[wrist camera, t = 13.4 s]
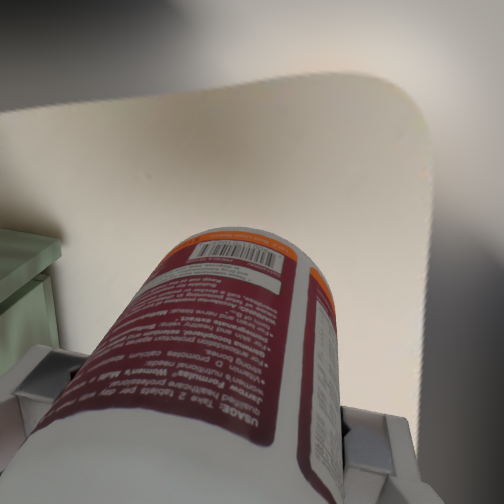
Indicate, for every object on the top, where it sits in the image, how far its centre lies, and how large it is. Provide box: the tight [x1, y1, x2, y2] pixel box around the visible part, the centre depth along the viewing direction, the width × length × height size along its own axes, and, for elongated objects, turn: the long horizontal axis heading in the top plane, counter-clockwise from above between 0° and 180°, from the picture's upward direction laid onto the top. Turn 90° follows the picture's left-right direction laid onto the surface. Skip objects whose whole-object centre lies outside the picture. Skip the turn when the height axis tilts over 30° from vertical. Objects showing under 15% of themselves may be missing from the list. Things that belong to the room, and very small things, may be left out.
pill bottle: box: [0, 227, 344, 504], centre depth 9 cm, size 6×6×11 cm
